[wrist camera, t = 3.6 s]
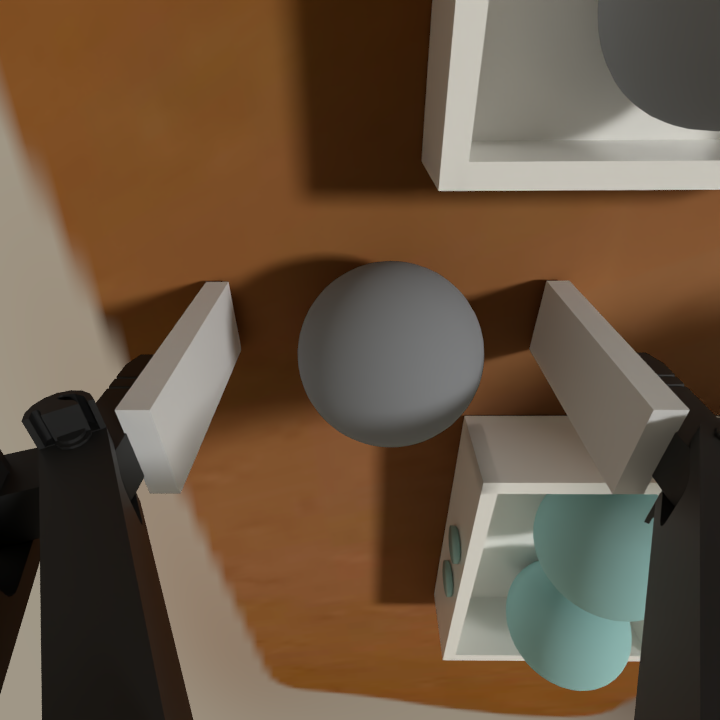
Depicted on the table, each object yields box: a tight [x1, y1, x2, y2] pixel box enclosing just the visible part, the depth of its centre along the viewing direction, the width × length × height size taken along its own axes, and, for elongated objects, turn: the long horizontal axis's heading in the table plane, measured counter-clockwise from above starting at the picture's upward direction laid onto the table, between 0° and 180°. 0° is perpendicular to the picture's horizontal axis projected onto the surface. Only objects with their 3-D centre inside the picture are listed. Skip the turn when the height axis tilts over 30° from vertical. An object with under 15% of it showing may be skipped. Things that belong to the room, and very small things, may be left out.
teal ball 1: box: [533, 494, 658, 622], centre depth 18 cm, size 6×6×6 cm
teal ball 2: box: [506, 560, 632, 691], centre depth 21 cm, size 6×6×6 cm
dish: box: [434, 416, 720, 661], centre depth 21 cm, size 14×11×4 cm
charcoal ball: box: [298, 261, 484, 447], centre depth 13 cm, size 6×6×6 cm
